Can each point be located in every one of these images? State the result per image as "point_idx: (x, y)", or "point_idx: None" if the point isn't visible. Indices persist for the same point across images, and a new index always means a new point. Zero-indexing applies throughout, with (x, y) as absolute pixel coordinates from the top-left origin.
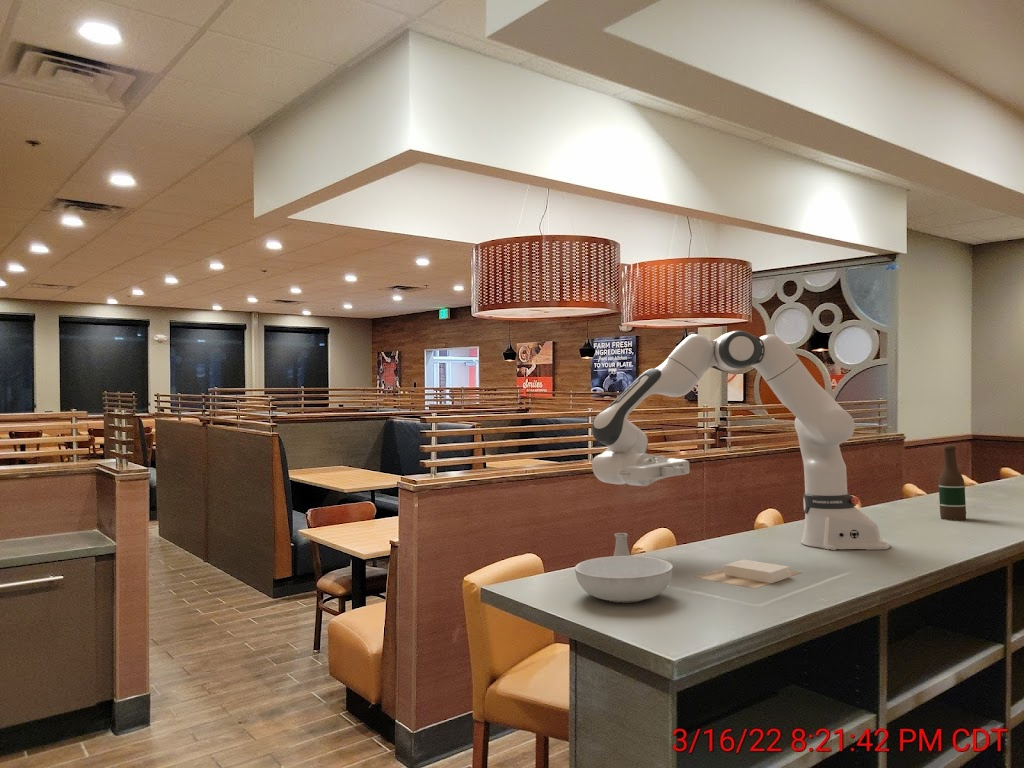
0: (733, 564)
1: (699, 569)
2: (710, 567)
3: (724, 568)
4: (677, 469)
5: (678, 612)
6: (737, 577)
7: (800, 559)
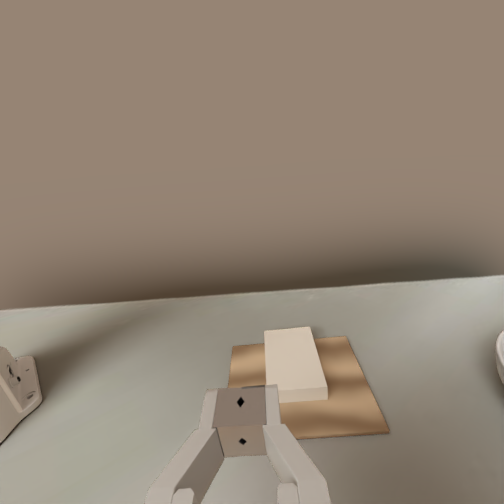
0: (312, 378)
1: None
2: None
3: None
4: (277, 395)
5: None
6: None
7: (131, 399)
